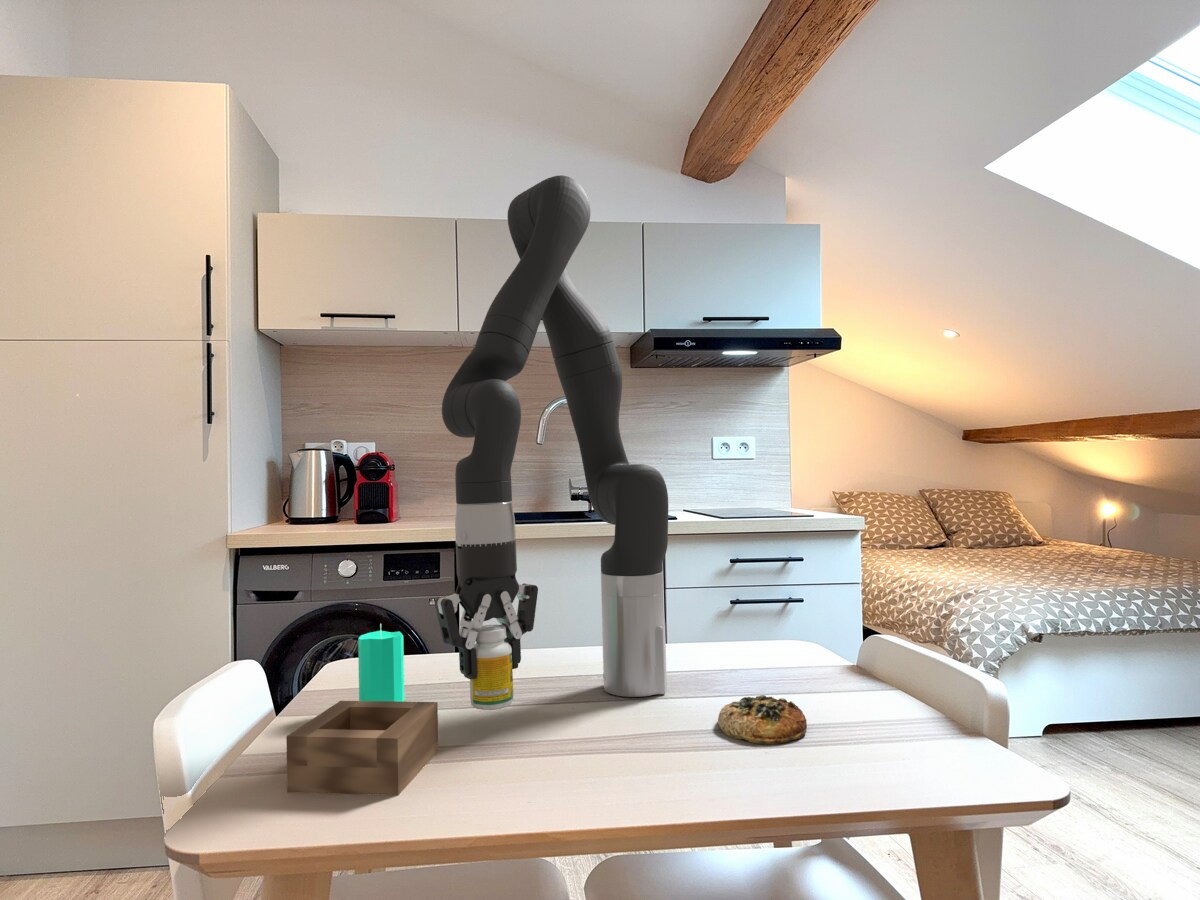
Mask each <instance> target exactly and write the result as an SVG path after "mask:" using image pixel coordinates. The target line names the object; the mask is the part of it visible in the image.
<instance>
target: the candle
mask: <svg viewBox="0 0 1200 900" xmlns="http://www.w3.org/2000/svg"><path fill="white" fill-rule="evenodd" d="M379 628H380V630H376V631H372V632H371V631H370V632H367V633H365V634H361V635H360V636H359V637H358V640H357V641H358V642H357V644H358V645H357V647H358V649H357V650H358V701H398V702H405V668H404V666H405V659H404V656H405V654H404V635H403V633H402V632H401V631H394V632H393V631H392V632H390V631H386V630H382V623H380V624H379Z"/></svg>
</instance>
